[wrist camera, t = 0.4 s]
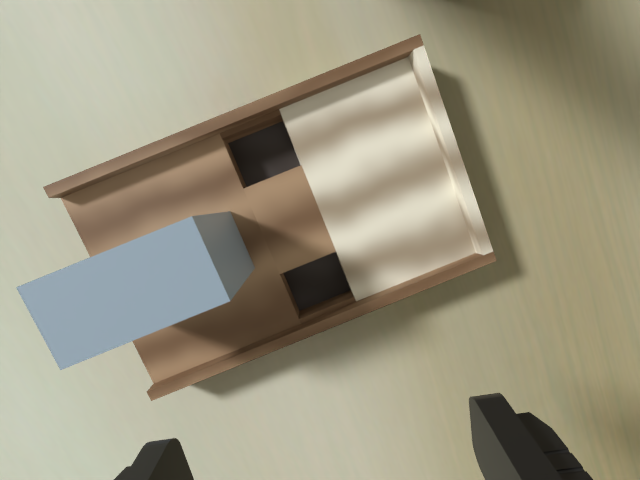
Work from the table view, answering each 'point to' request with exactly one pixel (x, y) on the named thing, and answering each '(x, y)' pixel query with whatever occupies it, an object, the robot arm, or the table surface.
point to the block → (138, 287)
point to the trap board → (298, 208)
